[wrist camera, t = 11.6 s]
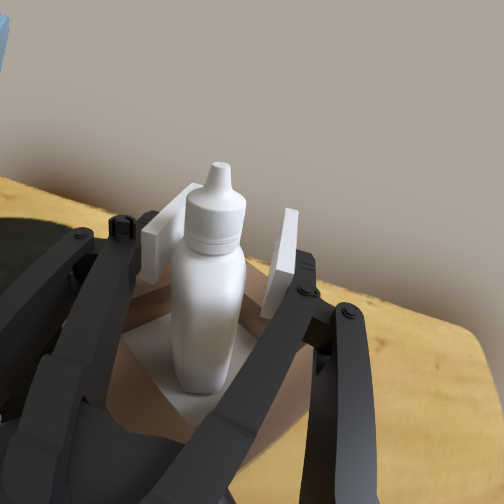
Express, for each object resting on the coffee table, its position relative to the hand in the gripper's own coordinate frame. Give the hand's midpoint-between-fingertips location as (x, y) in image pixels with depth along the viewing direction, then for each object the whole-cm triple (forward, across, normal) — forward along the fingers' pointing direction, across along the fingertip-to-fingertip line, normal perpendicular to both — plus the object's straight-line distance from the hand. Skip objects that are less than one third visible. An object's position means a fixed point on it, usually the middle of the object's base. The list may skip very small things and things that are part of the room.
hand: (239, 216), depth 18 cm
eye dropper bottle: (-5, 0, -8) cm, 9 cm away
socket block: (-5, 0, -8) cm, 10 cm away
